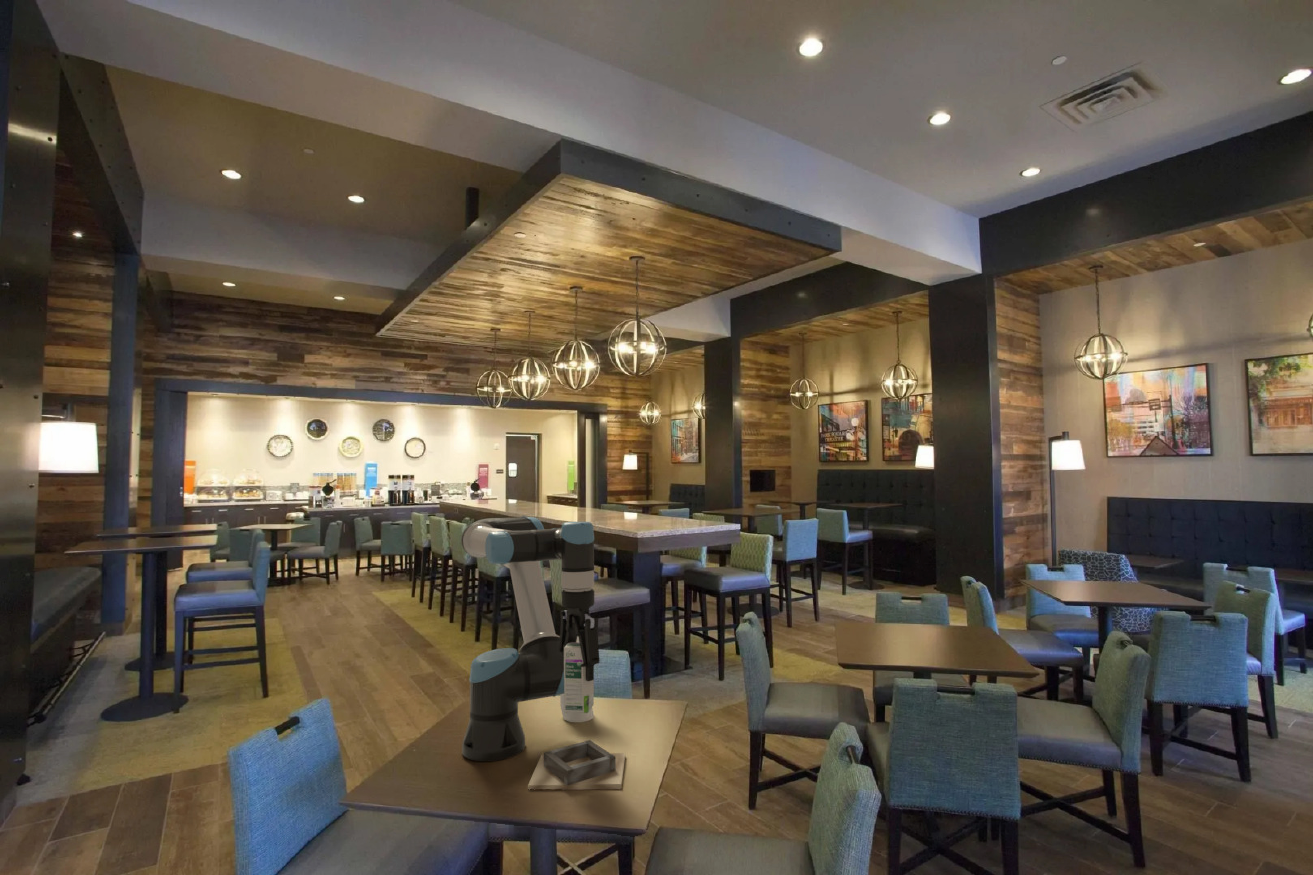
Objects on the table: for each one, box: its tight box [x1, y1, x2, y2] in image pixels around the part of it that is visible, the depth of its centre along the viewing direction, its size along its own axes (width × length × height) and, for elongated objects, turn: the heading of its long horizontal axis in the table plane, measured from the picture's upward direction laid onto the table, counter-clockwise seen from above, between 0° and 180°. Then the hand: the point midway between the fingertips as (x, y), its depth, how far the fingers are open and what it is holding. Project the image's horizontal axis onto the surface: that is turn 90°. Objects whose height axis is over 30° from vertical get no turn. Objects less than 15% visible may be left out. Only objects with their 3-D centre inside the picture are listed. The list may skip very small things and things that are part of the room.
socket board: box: [527, 739, 626, 791], centre depth 144 cm, size 20×17×4 cm
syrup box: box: [564, 642, 595, 713], centre depth 146 cm, size 6×6×14 cm
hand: (578, 689), depth 146 cm, fingers closed on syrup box, 8 cm apart
